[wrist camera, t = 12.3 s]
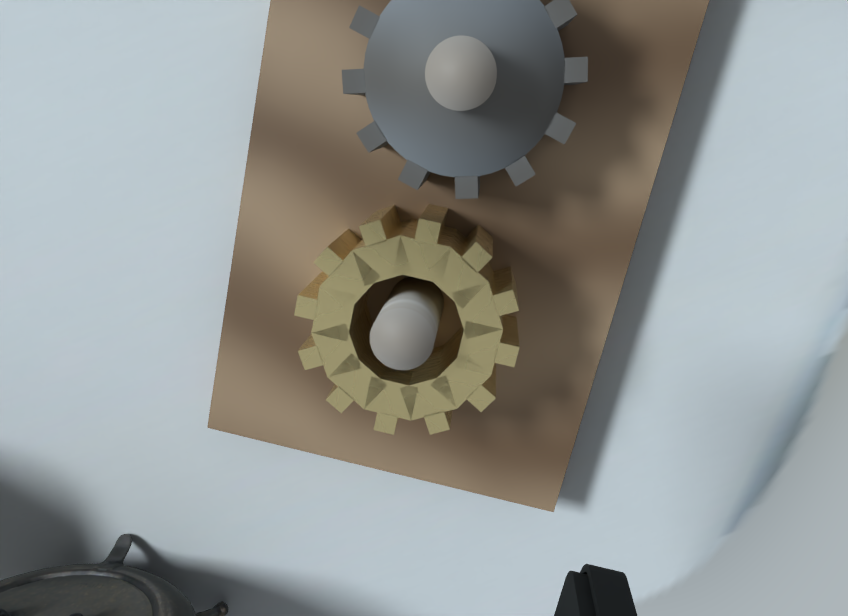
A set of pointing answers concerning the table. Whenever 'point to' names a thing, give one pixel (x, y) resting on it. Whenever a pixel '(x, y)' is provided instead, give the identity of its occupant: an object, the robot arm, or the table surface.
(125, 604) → the alarm clock
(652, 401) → the table surface
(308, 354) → the brass gear
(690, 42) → the gear board
